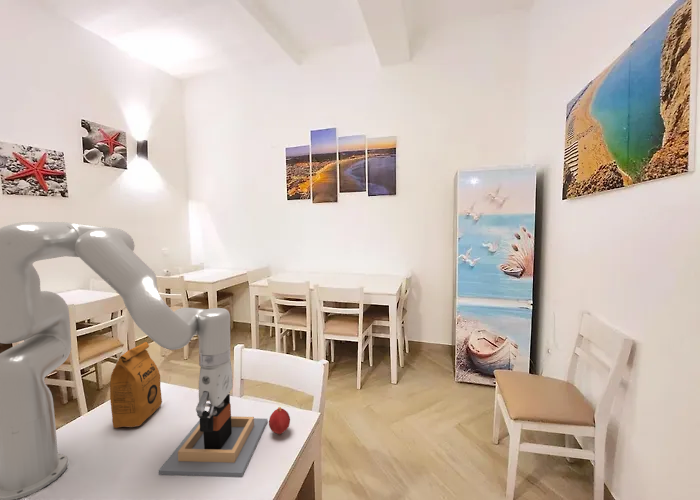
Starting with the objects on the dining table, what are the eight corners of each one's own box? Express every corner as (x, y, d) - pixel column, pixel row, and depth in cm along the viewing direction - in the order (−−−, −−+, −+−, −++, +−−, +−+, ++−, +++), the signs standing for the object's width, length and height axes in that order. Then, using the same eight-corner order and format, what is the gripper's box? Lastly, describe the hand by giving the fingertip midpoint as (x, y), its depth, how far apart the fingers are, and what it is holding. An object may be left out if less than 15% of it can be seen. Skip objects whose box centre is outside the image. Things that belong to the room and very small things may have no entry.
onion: (267, 430, 89) (266, 404, 88) (286, 424, 91) (286, 398, 91) (272, 443, 84) (271, 415, 83) (292, 436, 86) (292, 409, 86)
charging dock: (158, 474, 73) (157, 460, 73) (201, 420, 93) (201, 409, 93) (242, 476, 73) (241, 462, 72) (267, 421, 93) (267, 410, 92)
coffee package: (168, 405, 101) (164, 340, 99) (139, 431, 88) (134, 357, 86) (139, 404, 101) (134, 339, 99) (106, 429, 89) (100, 356, 87)
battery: (232, 433, 86) (231, 399, 85) (219, 451, 79) (217, 414, 78) (217, 432, 86) (216, 398, 86) (203, 450, 80) (201, 413, 79)
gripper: (213, 373, 72) (214, 442, 73) (241, 344, 89) (242, 400, 91) (181, 371, 72) (183, 441, 74) (216, 343, 89) (216, 399, 91)
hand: (215, 418), depth 82 cm, fingers open, 9 cm apart
